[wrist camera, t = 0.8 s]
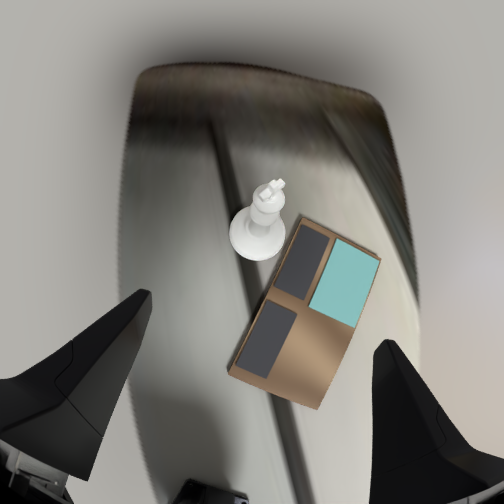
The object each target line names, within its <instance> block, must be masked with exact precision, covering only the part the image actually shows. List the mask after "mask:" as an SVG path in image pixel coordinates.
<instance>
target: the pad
mask: <svg viewBox="0 0 504 504" xmlns="http://www.w3.org/2000/svg"><path fill="white" fill-rule="evenodd" d="M378 264H379V261H378V260H377V259H375V258H373V257H371V256H369V255H367V254H366V253H364V252H362V251H360V250H358V249H356V248H354V247H352V246H351V245H349V244H347V243H345V242H343V241H341V240H339V239H336V241H335V244H334V246H333V249H332V251H331V254H330V256H329V259H328V261H327V264H326V266H325V268H324V271H323V273H322V276H321V278H320V280H319V283H318V285H317V287H316V290H315V292H314V294H313V297H312V299H311V301H310V303H309V306H308V307H310V308H312V309H314V310H316V311H318V312H321V313H323V314H325V315H327V316H329V317H331V318H333V319H336V320H338V321H340V322H342V323H344V324H347V325H349V326H351V327H353V328H355V326H356V324H357V321H358V319H359V316H360V314H361V311H362V309H363V306H364V303H365V301H366V298H367V295H368V293H369V290H370V287H371V285H372V282H373V279H374V276H375V273H376V270H377V267H378Z"/></svg>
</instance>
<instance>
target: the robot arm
mask: <svg viewBox="0 0 504 504" xmlns="http://www.w3.org/2000/svg"><path fill="white" fill-rule="evenodd" d="M151 312H152V294H151V292H150V291H149V290H145V289H139V290H137V291H136V292H135V293H133V294H132V295H131V296H129V297H128V298H126V299H125V300H124V301H122V302H121V303H120V304H118V305H117V306H116V307H114V308H113V309H112V310H110V311H109V312H107V313H106V314H105V315H104V316H102V317H101V318H99V319H98V320H97V321H95V322H94V323H93V324H92V325H90V326H89V327H88V328H87V329H85V330H84V331H83V332H81V333H80V334H78V335H77V336H76V337H74V338H73V340H70V341H69V342H68V343H67V344H65V345H64V346H63V347H61V348H60V349H59V350H57V351H56V352H54V353H53V354H51V355H50V356H48V357H47V358H45V359H44V360H42V361H41V362H39V363H37V364H36V365H34V366H33V367H31V368H29V369H28V370H26V371H25V372H23V373H21V374H19V375H17V376H15V377H12V378H8V379H0V504H74V503H73V501H72V499H71V497H70V495H69V493H68V491H67V490H66V488H65V485H66V482H67V479H68V476H69V475H71V476H74V477H76V478H79V479H82V480H84V481H88V479H89V477H90V474H91V470H92V468H93V464H94V462H95V459H96V456H97V453H98V450H99V448H100V445H101V442H102V439H103V438H102V437H104V434H105V431H106V429H107V426H108V423H109V421H110V418H111V416H112V413H113V411H114V408H115V405H116V403H117V400H118V398H119V396H120V393H121V391H122V388H123V386H124V384H125V381H126V379H127V376H128V374H129V372H130V369H131V367H132V365H133V362H134V360H135V358H136V356H137V353H138V351H139V349H140V346H141V343H142V340H143V337H144V333H145V330H146V327H147V324H148V321H149V318H150V315H151ZM372 416H373V439H372V470H371V484H370V497H369V504H504V459H503V458H500V457H496V456H493V455H490V454H487V453H484V452H481V451H478V450H476V449H474V448H473V447H471V446H470V445H469V444H468V442H467V441H466V440H465V439H464V437H463V436H462V435H461V434H460V432H459V431H458V429H457V428H456V427H455V426H454V424H453V423H452V422H451V420H450V419H449V417H448V416H447V414H446V413H445V412H444V410H443V409H442V407H441V406H440V404H439V403H438V401H437V400H436V398H435V397H434V395H433V394H432V392H431V391H430V389H429V388H428V387H427V385H426V384H425V382H424V381H423V379H422V378H421V377H420V375H419V374H418V372H417V371H416V369H415V368H414V367H413V365H412V364H411V362H410V361H409V360H408V358H407V357H406V356H405V354H404V353H403V351H402V350H401V349H400V347H399V346H398V345H397V343H396V342H395V341H394V340H389V339H385V340H384V341H383V342H382V343H381V344H380V345H379V346H378V348H377V349H376V350H375V352H374V355H373V376H372ZM188 483H192V485H190V484H188ZM242 502H245V503H242ZM172 504H249V500H248V499H247V498H244V497H241V496H237V495H234V494H233V493H229V492H226V491H223V490H220V489H218V488H215V487H212V486H208V485H205V484H202V483H200V482H197V481H195V480H192V479H188V480H186V481H185V483H184V485H183V486H182V488H181V490H180V491H179V493H178V495H177V496H176V498H175V500H174V501H173V503H172Z"/></svg>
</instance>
